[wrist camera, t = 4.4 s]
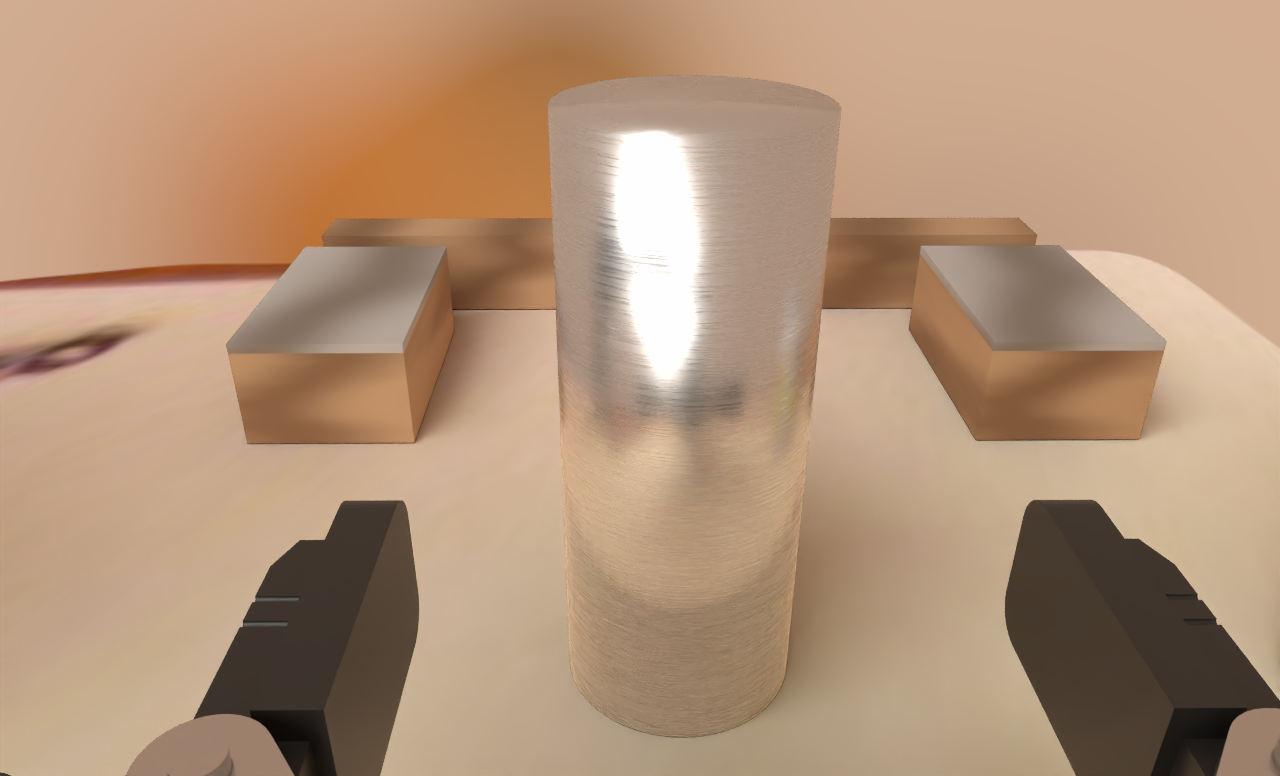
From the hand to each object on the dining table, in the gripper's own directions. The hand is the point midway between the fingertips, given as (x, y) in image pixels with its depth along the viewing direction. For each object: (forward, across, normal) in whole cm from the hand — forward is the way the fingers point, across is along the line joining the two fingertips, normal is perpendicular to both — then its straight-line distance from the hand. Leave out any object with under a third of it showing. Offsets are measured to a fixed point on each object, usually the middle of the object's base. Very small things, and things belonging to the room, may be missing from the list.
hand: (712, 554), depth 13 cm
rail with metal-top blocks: (+21, -1, +8) cm, 23 cm away
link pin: (+6, 0, +8) cm, 10 cm away
